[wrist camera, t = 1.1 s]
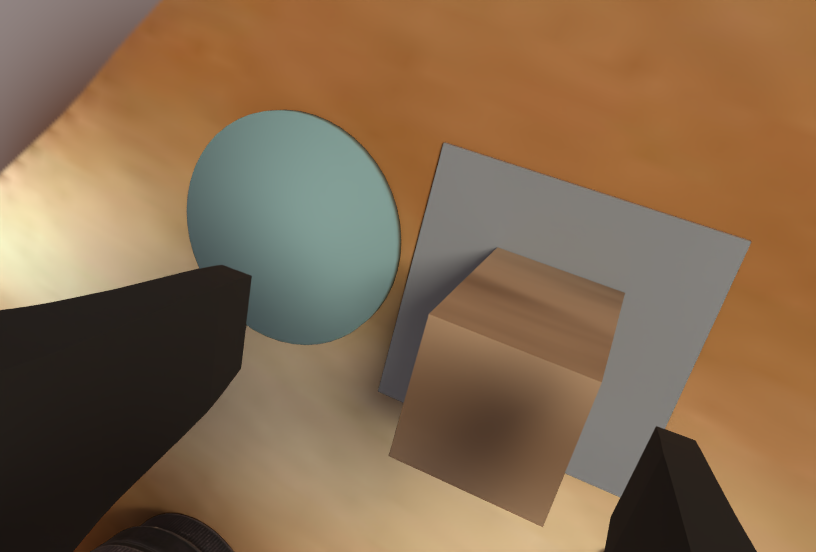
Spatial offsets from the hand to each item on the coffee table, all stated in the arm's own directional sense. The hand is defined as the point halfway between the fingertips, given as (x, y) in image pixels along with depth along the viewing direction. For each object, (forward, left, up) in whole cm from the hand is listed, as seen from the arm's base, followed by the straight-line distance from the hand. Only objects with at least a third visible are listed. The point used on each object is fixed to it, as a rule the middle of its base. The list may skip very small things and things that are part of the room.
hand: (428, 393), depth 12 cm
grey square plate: (-3, -1, -12) cm, 13 cm away
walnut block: (-3, -1, -12) cm, 13 cm away
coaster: (-3, +9, -12) cm, 16 cm away
